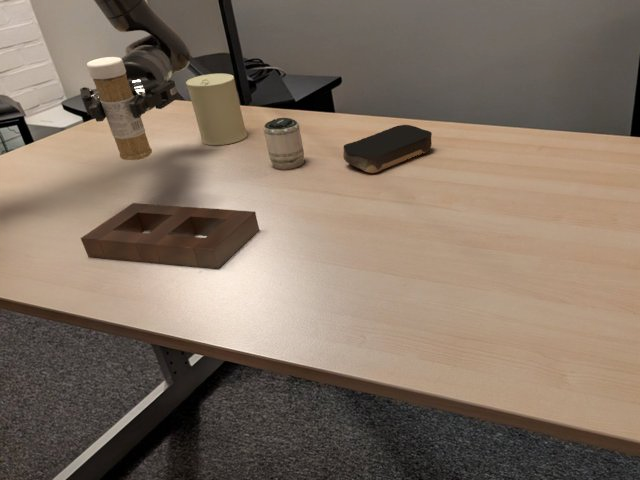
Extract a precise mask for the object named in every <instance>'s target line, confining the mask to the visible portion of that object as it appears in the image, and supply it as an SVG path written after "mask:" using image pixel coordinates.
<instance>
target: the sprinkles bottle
mask: <svg viewBox="0 0 640 480" xmlns="http://www.w3.org/2000/svg"><path fill="white" fill-rule="evenodd" d="M86 67H87V71H88V74H89V76H90V78H91V79H92V81H93V84H94V86H95V88H96V92H98V94H99V97H100V101H101V104H102V107H103V110H104V113H105V115H106V118H105V119H106V121H107V123H108V126H109V130H110V131H111V134H112V137H113V138H114V141H115V144H116V147H117V150H118V152H119V157H120V159H121V160H125V161H138V160H142V159H145V158H148V157H149V156H151V155H152V154H153V149H152V148H151V147H150V143H149V140H148V137H147V134H146V128H145V126H144V123H143V119H142V116H141V117H140V118H134V117H133V114H132V111H131V108H130V105H129V102H130V101H131V100H132V98H133V97H134V96H133V94H132V91H131V88H130V86H129V82H128V80H127V75H126V69H125V66H124V63H123V61H122V58H121V57H118V56H107V57H100V58H96V59H92V60H90V61H88V62H87V63H86Z"/></svg>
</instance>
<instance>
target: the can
mask: <svg viewBox="0 0 640 480" xmlns="http://www.w3.org/2000/svg"><path fill="white" fill-rule="evenodd" d="M185 84H186V87H187V91H188V94H189V97H190V101H191V104H192V105H191V106H192V108H193V112H194V115H195V119H196V123H197V127H198V130H199V135H200V141H201V144H204V145H206V146H207V145H208V146H226V145H227V146H228V145H231V144H236V143H238V142H241V141H243V140H245V139H246V138H247V137H248V132H247V129H246V126H245V122H244V121H245V120H244V118H243V114H242V108H241V105H240V100H239V95H238V92H237V91H238V90H237V86H236V80H235V76H234V75H232V74H230V73H208V74H202V75H197V76H194V77H191V78H189V79H188V80H186V82H185Z"/></svg>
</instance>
